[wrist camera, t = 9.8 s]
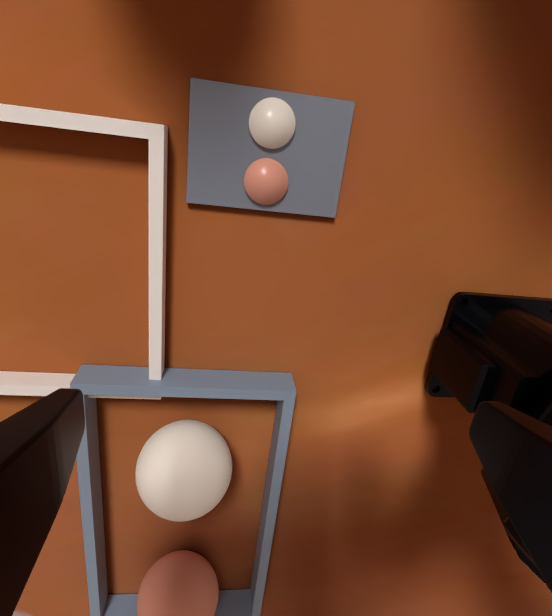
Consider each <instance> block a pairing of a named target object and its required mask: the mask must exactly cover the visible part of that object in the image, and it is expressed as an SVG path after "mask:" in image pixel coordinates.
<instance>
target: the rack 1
mask: <svg viewBox="0 0 552 616" xmlns="http://www.w3.org/2000/svg"><path fill="white" fill-rule="evenodd" d="M0 121H6V122H14V123H22V124H31V125H39V126H47V127H55V128H63V129H71V130H79V131H87V132H95V133H103V134H111V135H120V136H128V137H136V138H144V139H149V380H161V378H162V375H163V371H164V358H165V291H166V225H167V158H168V126H167V125H161V124H154V123H146V122H138V121H130V120H123V119H115V118H107V117H99V116H92V115H84V114H76V113H69V112H61V111H53V110H45V109H38V108H30V107H22V106H14V105H7V104H0ZM75 375H76V374H63V373H37V372H10V371H0V395H22V396H47V395H49V394H50V393H52V392H54V391H56V390H58V389H60V388H70V383H71V381H72V379H73V378H74V376H75ZM88 397H91V398H125V399H159V400H161V397H152V396H118V395H88Z"/></svg>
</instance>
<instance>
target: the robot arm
mask: <svg viewBox="0 0 552 616" xmlns="http://www.w3.org/2000/svg"><path fill="white" fill-rule="evenodd" d="M462 299H464V302H463V303H462V304H459V302H460V301H461V300H462ZM551 307H552V299H550V298H537V297H524V296H511V295H498V294H485V293H472V292H458V293H456V294H455V295H454V296H453V297H452V299H451V302H450V306H449V309H448V312H447V316H446V319H445V322H444V325H443V329H442V330H441V331H440V335H439V338H438V341H437V344H436V348H435V351H434V354H433V358H432V361H431V364H430V372H429V375H428V378H427V381H426V385H425V389H426V391H427V392H428V393H429V394H430V395H431V396H434V397H455V398H456V399H457V400H458V401H459V402H460V403H461V405H462V406H463V407H464V408H465V409H466V410H467V411H468V412H469V413H474V414H475V415H474V418H473V421H472V423H471V426H470V431H469V434H470V439H471V441H472V443H473V446H474V448H475V450H476V452H477V454H478V457H479V459H480V461H481V463H482V465H483V469H482V470H481V474H482V476H483V478H484V481H485V483H486V485H487V488H488V490H489V493H490V495H491V497H492V500H493V502H494V504H495V507H496V509H497V512H498V514H499V516H500V519H501V521H502V523H503V526H504V528H505V531H506V533H507V535H508V538H509V540H510V541H511V543H512V545H513V547H514V549H515V550H516V552H517V554H518V556H519V558H520V559H521V560H522V561H523V562H524V563H525V564H526V565H528V567H529V568H530V569H531V570H532V571H533V572H534V573H535V574H536V575H537V576H538V577H539V578H540V579H541V580H542V581H543V582H544V583H546V585H547V587H548V588H549V589H550V590H551V592H552V309H551V310H550V308H551ZM435 386H437V387H436V388H435V389H433V387H435ZM84 429H85V412H84V400H83V393H82V391H81V390H80V389H72V388H60V389H58V390H56V391H54V392H52V393H50V394H49V395H47V396H45V397H43V398H42V399H40V400H38V401H36V402H35V403H33V404H31V405H29V406H28V407H26V408H24V409H22V410H21V411H19V412H17V413H15V414H14V415H12V416H10V417H8V418H7V419H5V420H3V421H1V422H0V616H12V615H13V612H14V610H15V608H16V606H17V603H18V601H19V599H20V597H21V594H22V592H23V590H24V588H25V585H26V583H27V581H28V579H29V576H30V574H31V572H32V569H33V567H34V565H35V563H36V560H37V558H38V556H39V554H40V551H41V549H42V547H43V545H44V542H45V540H46V538H47V536H48V533H49V531H50V529H51V527H52V524H53V522H54V520H55V518H56V515H57V513H58V510H59V508H60V506H61V503H62V500H63V497H64V494H65V492H66V488H67V485H68V482H69V479H70V476H71V472H72V469H73V466H74V463H75V460H76V456H77V453H78V450H79V447H80V444H81V440H82V437H83V434H84Z"/></svg>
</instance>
